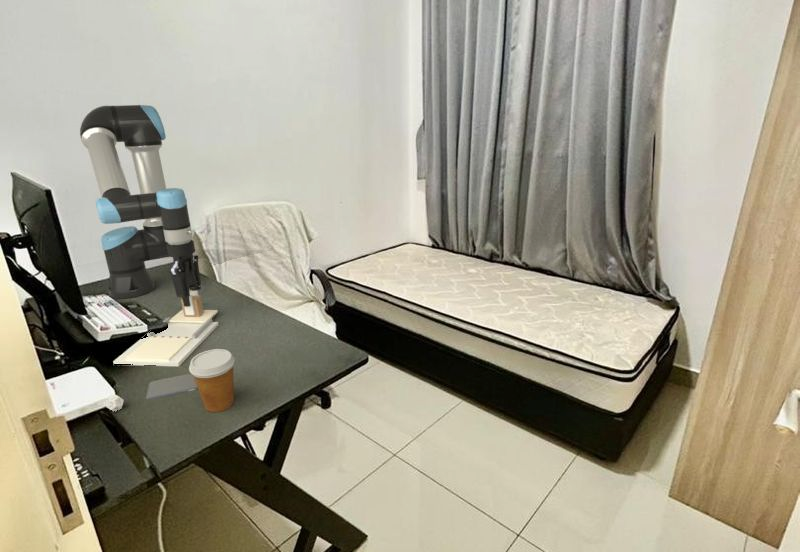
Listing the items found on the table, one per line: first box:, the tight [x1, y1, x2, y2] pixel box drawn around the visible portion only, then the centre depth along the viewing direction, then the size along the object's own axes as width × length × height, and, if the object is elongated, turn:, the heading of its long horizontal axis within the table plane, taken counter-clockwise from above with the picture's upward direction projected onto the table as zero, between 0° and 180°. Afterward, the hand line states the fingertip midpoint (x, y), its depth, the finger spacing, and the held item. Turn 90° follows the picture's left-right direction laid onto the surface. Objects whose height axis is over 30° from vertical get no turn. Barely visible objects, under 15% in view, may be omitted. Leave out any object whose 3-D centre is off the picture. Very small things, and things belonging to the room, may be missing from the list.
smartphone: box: [145, 372, 198, 400], centre depth 113 cm, size 8×1×15 cm
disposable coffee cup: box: [188, 348, 236, 413], centre depth 104 cm, size 10×10×12 cm
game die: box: [105, 394, 125, 413], centre depth 104 cm, size 4×4×3 cm
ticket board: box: [112, 317, 220, 367], centre depth 132 cm, size 24×18×2 cm
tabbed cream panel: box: [169, 295, 219, 323], centre depth 145 cm, size 8×12×7 cm, turn 86°
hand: (193, 311), depth 145 cm, fingers closed on tabbed cream panel, 3 cm apart
